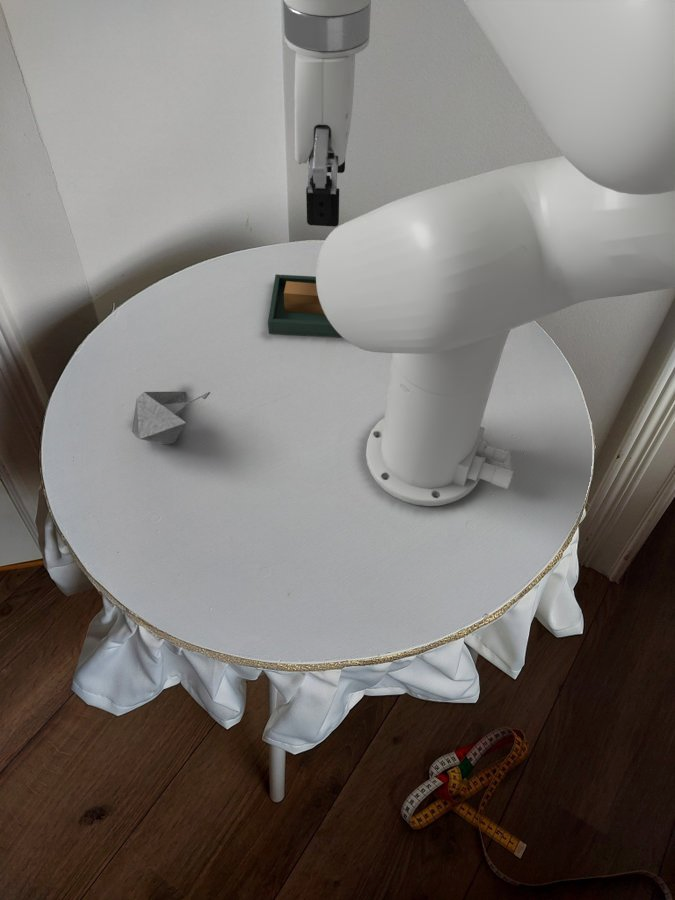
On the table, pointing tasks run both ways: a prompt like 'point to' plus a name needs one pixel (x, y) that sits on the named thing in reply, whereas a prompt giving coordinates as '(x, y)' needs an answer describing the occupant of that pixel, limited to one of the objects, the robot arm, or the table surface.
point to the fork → (302, 298)
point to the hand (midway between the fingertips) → (326, 196)
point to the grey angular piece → (160, 416)
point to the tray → (296, 313)
